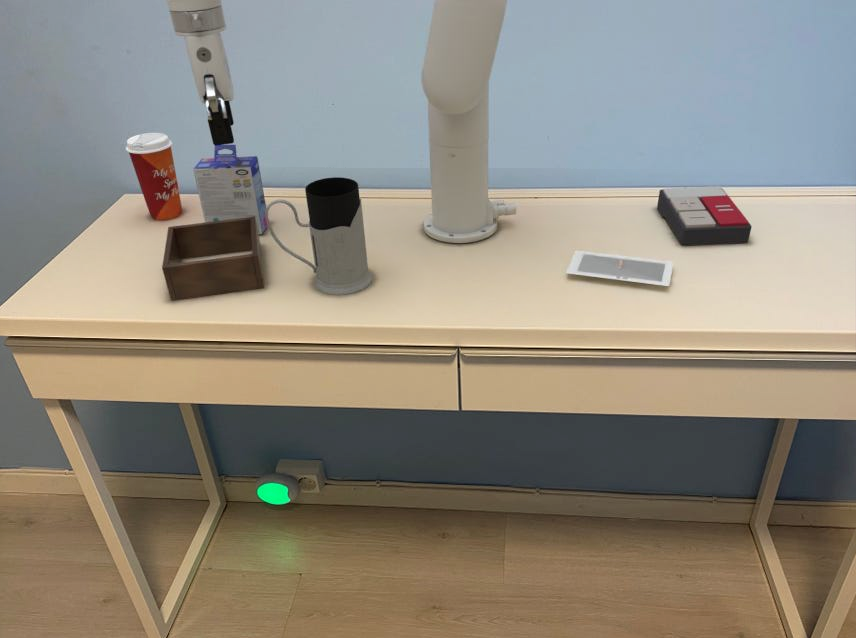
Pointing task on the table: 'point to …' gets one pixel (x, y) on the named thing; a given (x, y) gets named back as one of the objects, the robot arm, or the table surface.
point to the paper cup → (156, 174)
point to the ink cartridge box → (231, 187)
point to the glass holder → (334, 235)
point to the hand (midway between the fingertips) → (224, 134)
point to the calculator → (703, 216)
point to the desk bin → (212, 272)
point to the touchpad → (621, 268)
